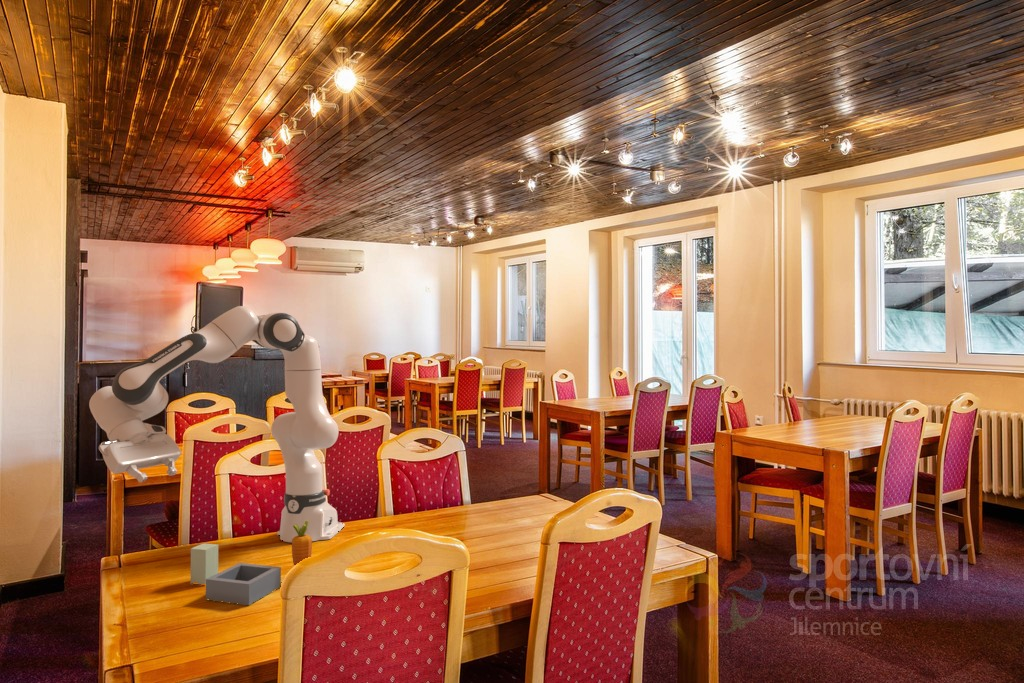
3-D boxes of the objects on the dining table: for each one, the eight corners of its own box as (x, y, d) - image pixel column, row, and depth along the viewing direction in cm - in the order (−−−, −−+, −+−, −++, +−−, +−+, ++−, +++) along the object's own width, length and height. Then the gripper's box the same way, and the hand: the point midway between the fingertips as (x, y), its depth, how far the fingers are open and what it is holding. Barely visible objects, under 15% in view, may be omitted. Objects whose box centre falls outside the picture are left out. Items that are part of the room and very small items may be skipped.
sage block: (203, 577, 167) (203, 543, 167) (218, 579, 166) (218, 544, 166) (190, 584, 163) (190, 548, 163) (205, 585, 161) (205, 550, 161)
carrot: (290, 584, 163) (291, 524, 163) (292, 577, 167) (292, 519, 168) (311, 582, 164) (311, 523, 164) (312, 575, 169) (312, 518, 169)
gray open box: (239, 582, 164) (239, 562, 164) (280, 587, 160) (280, 567, 161) (205, 600, 152) (205, 579, 152) (249, 605, 149) (249, 584, 149)
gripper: (102, 434, 162) (131, 476, 159) (168, 426, 181) (195, 462, 178) (88, 451, 163) (117, 493, 160) (156, 441, 183) (182, 477, 179)
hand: (159, 477), depth 169 cm, fingers open, 8 cm apart
